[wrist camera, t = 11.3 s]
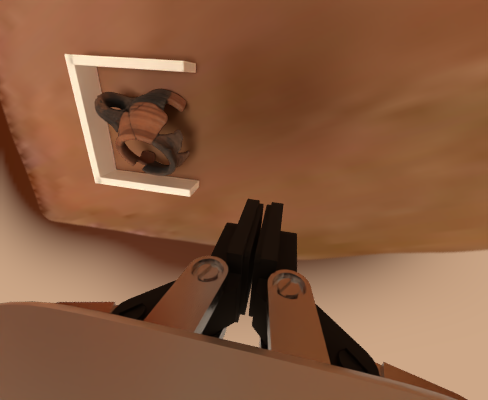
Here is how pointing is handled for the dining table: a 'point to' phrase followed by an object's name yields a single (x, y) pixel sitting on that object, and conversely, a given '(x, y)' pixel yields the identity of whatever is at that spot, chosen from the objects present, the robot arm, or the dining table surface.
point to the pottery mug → (144, 127)
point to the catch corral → (97, 129)
